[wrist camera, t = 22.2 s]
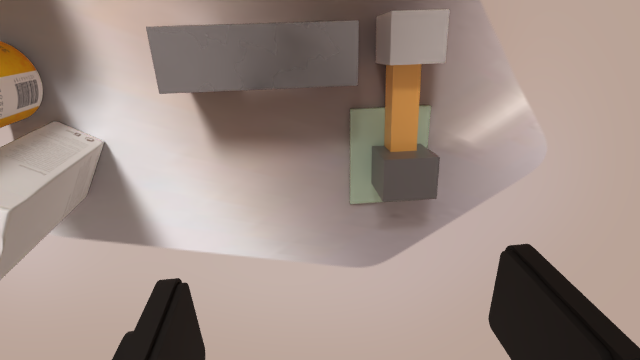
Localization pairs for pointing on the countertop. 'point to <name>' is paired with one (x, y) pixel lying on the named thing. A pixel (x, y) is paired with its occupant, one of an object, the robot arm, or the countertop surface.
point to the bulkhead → (254, 56)
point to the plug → (406, 102)
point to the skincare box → (41, 185)
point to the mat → (364, 135)
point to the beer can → (17, 86)
